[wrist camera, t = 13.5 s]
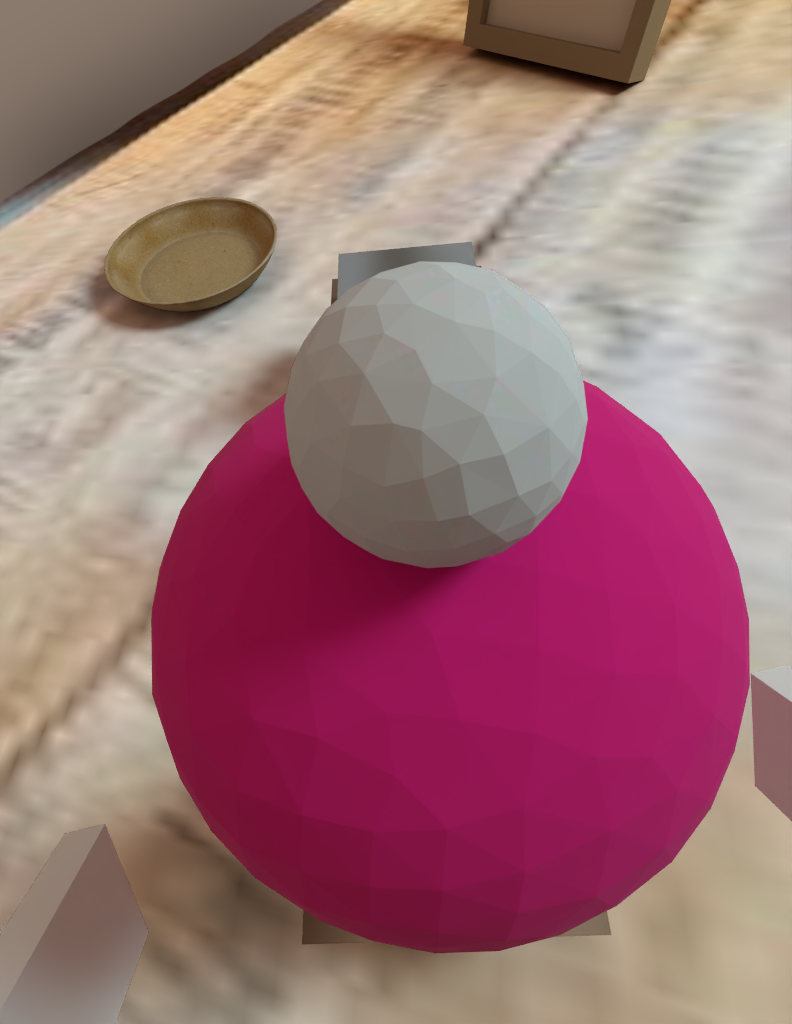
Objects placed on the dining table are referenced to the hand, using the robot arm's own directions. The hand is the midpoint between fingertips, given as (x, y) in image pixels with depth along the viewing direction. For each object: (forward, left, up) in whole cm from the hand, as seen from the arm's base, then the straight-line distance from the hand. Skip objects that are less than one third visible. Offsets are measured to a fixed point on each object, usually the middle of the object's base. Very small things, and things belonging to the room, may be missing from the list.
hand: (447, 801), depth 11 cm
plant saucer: (+18, -42, -16) cm, 49 cm away
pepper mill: (0, -2, -10) cm, 10 cm away
